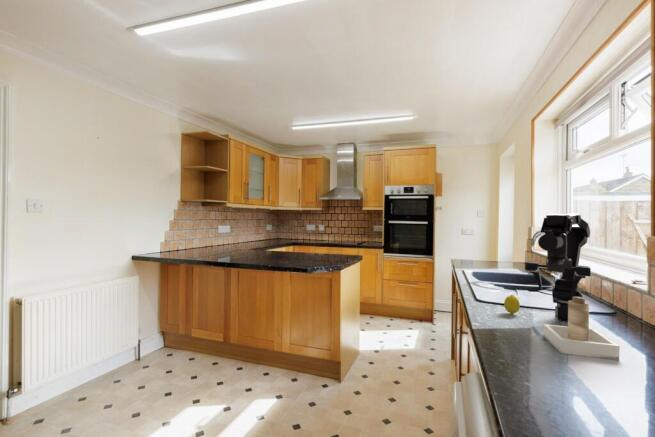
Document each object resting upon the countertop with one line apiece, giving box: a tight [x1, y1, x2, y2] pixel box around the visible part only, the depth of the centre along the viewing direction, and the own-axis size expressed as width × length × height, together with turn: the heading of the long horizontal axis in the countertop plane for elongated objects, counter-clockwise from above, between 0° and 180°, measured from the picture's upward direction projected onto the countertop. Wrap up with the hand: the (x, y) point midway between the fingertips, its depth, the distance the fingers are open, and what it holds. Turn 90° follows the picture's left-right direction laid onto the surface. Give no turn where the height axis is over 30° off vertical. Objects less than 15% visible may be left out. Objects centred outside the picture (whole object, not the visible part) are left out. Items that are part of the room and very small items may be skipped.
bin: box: [543, 323, 620, 361], centre depth 97 cm, size 14×14×4 cm
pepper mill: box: [567, 297, 590, 341], centre depth 97 cm, size 5×5×14 cm
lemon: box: [503, 294, 521, 315], centre depth 129 cm, size 6×6×8 cm
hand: (556, 292), depth 113 cm, fingers open, 9 cm apart
